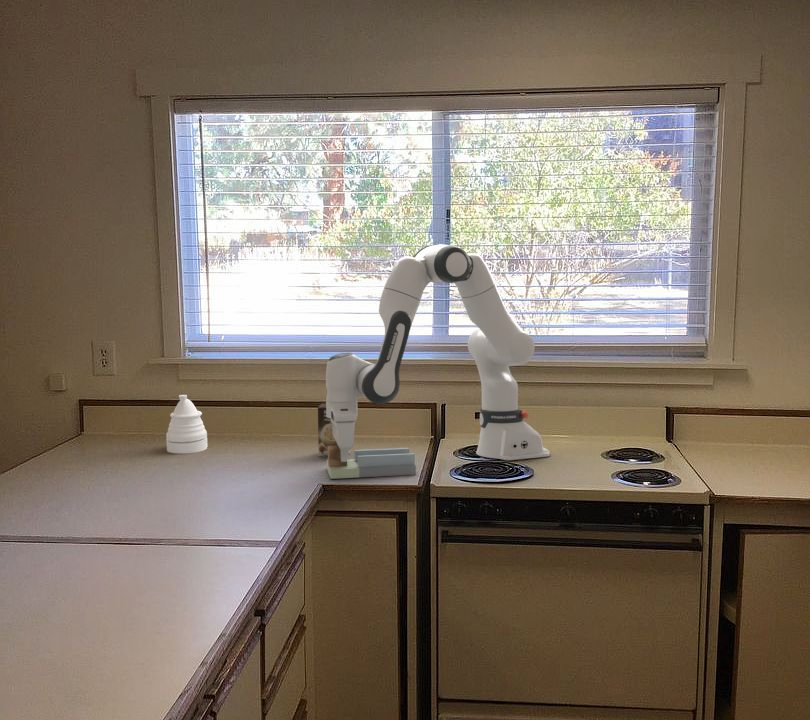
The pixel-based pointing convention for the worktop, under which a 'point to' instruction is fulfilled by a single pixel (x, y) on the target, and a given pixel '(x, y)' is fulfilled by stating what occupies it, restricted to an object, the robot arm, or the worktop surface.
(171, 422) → the honey pot
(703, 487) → the worktop surface
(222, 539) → the worktop surface
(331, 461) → the walnut block
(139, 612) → the worktop surface
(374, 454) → the channel
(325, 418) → the coffee box
